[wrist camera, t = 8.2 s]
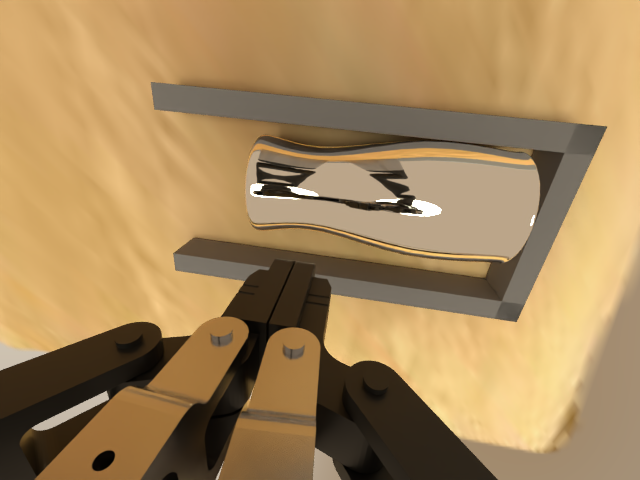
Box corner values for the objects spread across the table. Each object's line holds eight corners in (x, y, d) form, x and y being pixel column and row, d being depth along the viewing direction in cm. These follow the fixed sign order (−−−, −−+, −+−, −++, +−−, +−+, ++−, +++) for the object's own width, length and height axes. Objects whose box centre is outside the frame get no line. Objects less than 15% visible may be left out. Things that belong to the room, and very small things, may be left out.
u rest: (179, 85, 20) (151, 82, 18) (570, 124, 18) (607, 126, 15) (195, 253, 26) (175, 270, 23) (498, 297, 24) (516, 322, 21)
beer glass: (275, 222, 24) (471, 245, 22) (240, 251, 17) (517, 288, 15) (278, 130, 21) (496, 147, 20) (240, 122, 15) (562, 147, 13)
